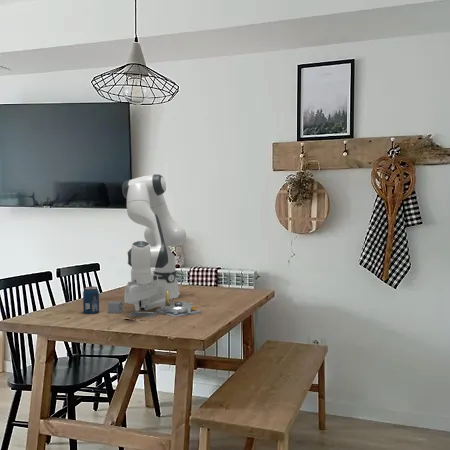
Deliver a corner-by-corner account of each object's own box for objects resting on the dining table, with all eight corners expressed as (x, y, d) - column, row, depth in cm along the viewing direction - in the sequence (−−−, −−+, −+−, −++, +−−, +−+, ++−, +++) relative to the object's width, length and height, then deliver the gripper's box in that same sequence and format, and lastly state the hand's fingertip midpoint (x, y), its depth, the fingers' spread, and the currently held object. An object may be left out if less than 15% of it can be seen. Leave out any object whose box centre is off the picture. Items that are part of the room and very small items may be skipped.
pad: (124, 320, 224) (124, 318, 224) (132, 312, 236) (132, 310, 236) (151, 321, 223) (151, 319, 223) (158, 313, 235) (158, 311, 235)
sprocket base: (155, 311, 238) (155, 309, 238) (182, 306, 248) (182, 304, 248) (174, 318, 227) (174, 316, 227) (201, 313, 236) (201, 310, 236)
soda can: (88, 311, 239) (87, 285, 238) (102, 312, 237) (101, 286, 236) (80, 315, 232) (79, 289, 231) (94, 316, 230) (93, 289, 229)
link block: (119, 314, 234) (108, 314, 234) (122, 311, 239) (111, 311, 239) (119, 303, 233) (107, 303, 234) (122, 301, 238) (111, 300, 239)
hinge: (145, 310, 240) (143, 289, 240) (137, 310, 243) (135, 289, 242) (168, 303, 254) (166, 283, 254) (160, 303, 257) (158, 283, 256)
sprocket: (157, 313, 230) (157, 295, 229) (164, 304, 246) (164, 287, 245) (193, 314, 229) (193, 295, 228) (197, 305, 245) (197, 287, 244)
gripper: (132, 283, 217) (132, 315, 219) (160, 275, 235) (160, 305, 237) (120, 282, 220) (120, 313, 222) (149, 274, 238) (149, 303, 240)
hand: (141, 309), depth 229 cm, fingers open, 4 cm apart
